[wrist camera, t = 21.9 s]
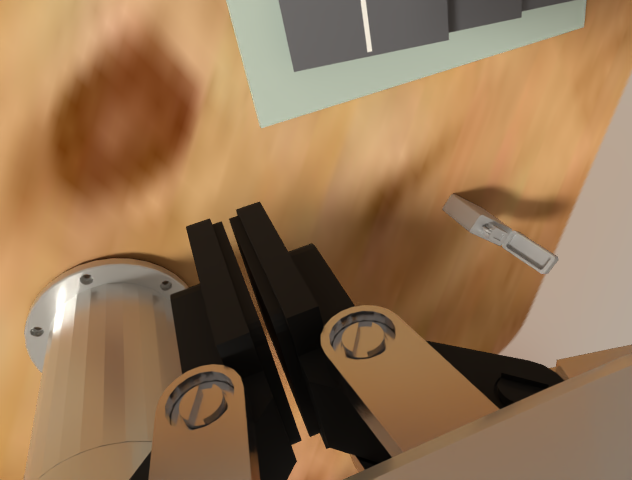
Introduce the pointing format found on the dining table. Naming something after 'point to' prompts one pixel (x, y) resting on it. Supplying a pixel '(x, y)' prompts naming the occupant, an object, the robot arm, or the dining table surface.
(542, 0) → the domino
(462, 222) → the lighter
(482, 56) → the mat
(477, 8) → the domino
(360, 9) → the domino
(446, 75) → the dining table surface
